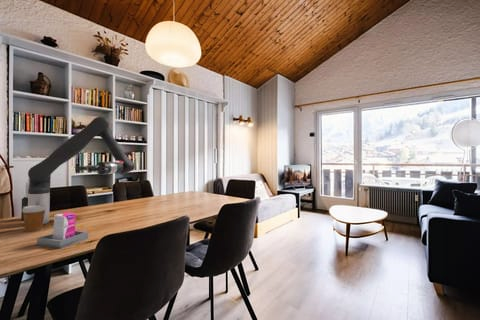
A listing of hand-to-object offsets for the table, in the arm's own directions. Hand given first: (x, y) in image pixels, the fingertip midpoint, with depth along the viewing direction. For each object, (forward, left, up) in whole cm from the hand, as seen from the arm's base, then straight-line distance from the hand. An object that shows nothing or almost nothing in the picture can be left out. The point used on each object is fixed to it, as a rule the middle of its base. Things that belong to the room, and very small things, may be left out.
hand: (82, 168), depth 122 cm
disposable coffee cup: (-20, -9, -32) cm, 39 cm away
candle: (-44, +4, -32) cm, 55 cm away
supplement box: (+10, -17, -31) cm, 37 cm away
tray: (+10, -17, -32) cm, 38 cm away
